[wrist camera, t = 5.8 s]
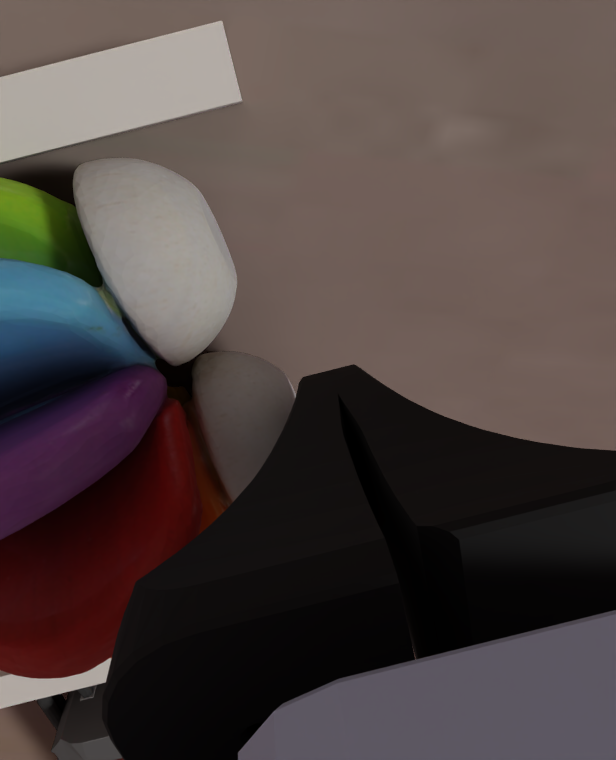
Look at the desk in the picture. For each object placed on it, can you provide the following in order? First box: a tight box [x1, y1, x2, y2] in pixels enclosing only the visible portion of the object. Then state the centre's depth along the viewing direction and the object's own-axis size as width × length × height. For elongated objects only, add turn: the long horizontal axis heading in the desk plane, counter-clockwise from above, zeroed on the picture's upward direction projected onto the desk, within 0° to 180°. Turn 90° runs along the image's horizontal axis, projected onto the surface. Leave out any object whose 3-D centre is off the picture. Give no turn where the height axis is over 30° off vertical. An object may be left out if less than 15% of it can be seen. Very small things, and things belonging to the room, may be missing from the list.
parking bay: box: [0, 21, 242, 709], centre depth 13 cm, size 13×14×2 cm
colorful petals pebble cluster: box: [0, 158, 296, 679], centre depth 10 cm, size 8×10×7 cm
